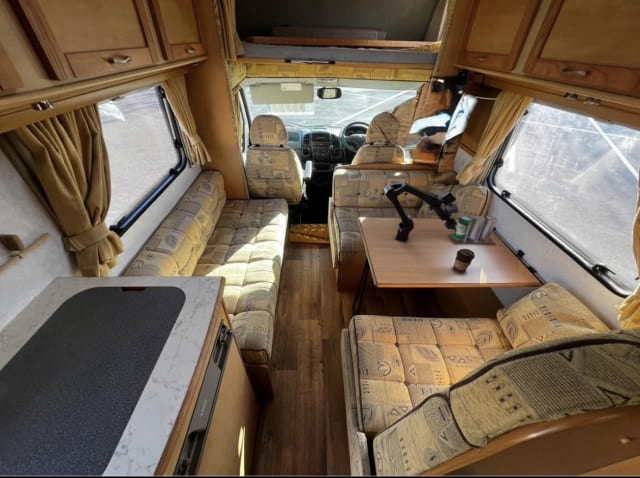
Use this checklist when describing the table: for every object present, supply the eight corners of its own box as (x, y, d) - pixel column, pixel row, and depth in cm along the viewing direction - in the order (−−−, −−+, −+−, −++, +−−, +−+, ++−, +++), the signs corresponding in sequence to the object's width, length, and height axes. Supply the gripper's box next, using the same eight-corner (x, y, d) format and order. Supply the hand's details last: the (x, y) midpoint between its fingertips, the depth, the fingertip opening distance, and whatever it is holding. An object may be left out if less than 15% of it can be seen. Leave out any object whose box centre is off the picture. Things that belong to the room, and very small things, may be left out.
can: (451, 237, 166) (458, 217, 157) (455, 234, 169) (462, 214, 161) (460, 242, 162) (469, 221, 154) (464, 238, 166) (473, 218, 157)
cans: (468, 240, 163) (476, 220, 155) (463, 235, 168) (472, 215, 160) (489, 241, 163) (499, 220, 155) (484, 235, 168) (494, 215, 159)
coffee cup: (465, 278, 137) (474, 259, 130) (449, 272, 141) (456, 253, 133) (468, 269, 143) (476, 250, 136) (452, 263, 147) (459, 245, 139)
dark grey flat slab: (454, 244, 162) (455, 242, 162) (448, 235, 171) (448, 233, 170) (494, 244, 162) (495, 243, 162) (486, 235, 170) (487, 234, 170)
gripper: (459, 209, 143) (472, 226, 150) (446, 194, 159) (458, 210, 165) (441, 221, 148) (454, 237, 154) (430, 205, 163) (442, 221, 170)
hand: (452, 226), depth 161 cm, fingers open, 9 cm apart
